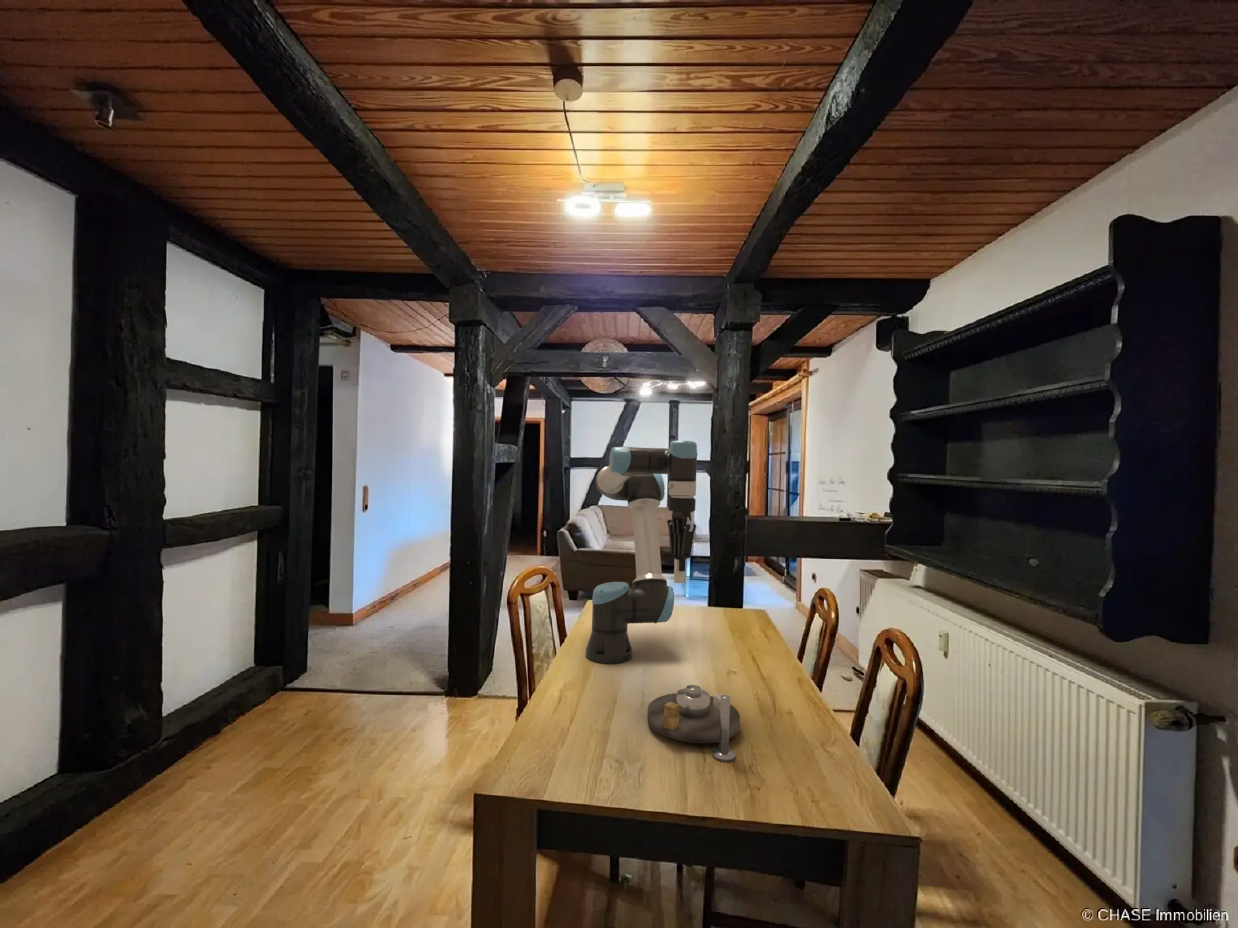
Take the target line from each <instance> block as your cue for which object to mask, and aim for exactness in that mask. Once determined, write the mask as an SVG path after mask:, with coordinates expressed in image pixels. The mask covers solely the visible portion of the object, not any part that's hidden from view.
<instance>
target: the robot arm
mask: <svg viewBox="0 0 1238 928" xmlns="http://www.w3.org/2000/svg"><path fill="white" fill-rule="evenodd" d="M608 459H609V460H608V461H609V462H608V463H609V465H607V466H605V467H603V468H601V470H600V471H598V473H597V475H596V477H595V485H596V488H597V490H598V491H599V493H600V494H601V495H602V496H605V497H606V498H608V499H610V500H613V501H620V502H621V501H625V502H626V501H627V507H628V508H629V509H630V510H631V511H632V523H633V524H632V526H633V542H634V557H635V578H634V580H633V581H632V584H631V585H632V586H630V585H629V583H628V582H625V581H610V582H609V581H608V582H604V583H601V584H598V585H597V586H596V587H595V588H594V589H593V591H592V600H591V605H592V609H591V610H592V612H591V613H592V615H591V616H592V617H591V632H590V636H589V638H588V641H587V644H586V647H585V657H586V658H587V657H588V658H589V659H588V658H587V659H588V660H590V661H592V662H594V661H596V662H595V663H599V662H600V663H599V664H609V665H610V664H612V665H613V664H620V663H625V662H627V661H630V660H631V659H632V657H633V648H632V645H631V641H630V638H629V633H628V626H629V625H628V624H657V623H666V622H669V620H670V619H671V617H672V616H673V615H672V614H673V611H674V607H675V606H674V605H675V591H674V588H673V586H671V585H668V581H667V579H666V577H664V576H663V574H662V561H661V560H662V559H661V550H660V549H661V547H660V536H659V535H660V534H659V522H658V514H657V513H658V511H657V509H658V508H659V507H660V505H661V502H662V501H663V500H664V499H665V495H666V494H665V491H666V490H665V488H666V487H665V480H664V478H663V475H668V485H667V489H668V495H669V497H668V500H667V510H668V511H670V512H672V513H671V519H667V521H666V522H667V523H666V524H667V527H668V537H669V550H670V555H673V556H672V557H673V558H674V566H673V567H674V568H673V569H674V570H673V583H675V584H684V583H686V565H687V563H686V562H687V560H688V559H690V558H691V555H692V551H693V550H692V549H693V542H694V536H695V532H696V529H697V525H696V523H694V524H693V522H692V515H691V513H693V512H695V511H696V498H695V496H696V495H697V467H698V466H697V463H698V445H697V442H696V441H694V440H672V441H670V443H669V448H659V447H632V446H614V447H612V448H611V450H610V453H609V457H608Z"/></svg>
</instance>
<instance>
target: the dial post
mask: <svg viewBox="0 0 1238 928" xmlns="http://www.w3.org/2000/svg"><path fill="white" fill-rule="evenodd" d="M712 697H713V706H714V707H715V708H717V709H718V710H719V711H720V739H719V742H718V744H719V745H718V746H715V747H713V748H712V750H711V756H712V757H713V759H714V760H715V761H718V762H722V763H731V762H733V761H735V760H736V752H735V750H734V749H733V748H731V747H730V746H729V745H730V742H729V741H730V738H729V719H730V704H731V696H730V695H727V694H724V693H716V694H713V696H712Z"/></svg>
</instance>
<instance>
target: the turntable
mask: <svg viewBox="0 0 1238 928" xmlns="http://www.w3.org/2000/svg"><path fill="white" fill-rule="evenodd" d="M676 700H677V692H675V693H667V694H664V695H660V696H658V697H657V698H655V699H653V700H652V701H651V702H650V703H649V704H648V706H647V719H646V720H647V723H648V724H649V726H650V727H651V728H652V729H654V731H655V732H657V733H658V734H660V735H663V736H665V737H667V738H669V739H673V740H676V741H679V742H684V743H691V744H714V743H719V739H720V711H719V710H718V709H717V708H715V707H714V706H713V696H711V695H710V714H709V715H708V716H707V717H705V718H700V719H692V718H687V717H684V716H681V715H680V714H679V704H676ZM740 727H741V715H740V712H739V711H738V709H737V708H736V707H735V706H734V705H732V704H731V703H730V719H729V739H731V738H732V737H735V736H736V735H737V734H738V733H739V731H740V729H741V728H740Z"/></svg>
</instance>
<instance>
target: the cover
mask: <svg viewBox="0 0 1238 928" xmlns="http://www.w3.org/2000/svg"><path fill="white" fill-rule="evenodd" d="M676 693H677V700H676V704H679V714H680V715H681V716H684V717H687V718H692V719H700V718H705V717H707V716H708V715H709V714H710V696H711V695H710V693H709V692H708V691H706V690H705V689H702V688H701V686H699V685H696V684H689V685H686V687H684V688H680V689H678V690H677V691H676Z"/></svg>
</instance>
